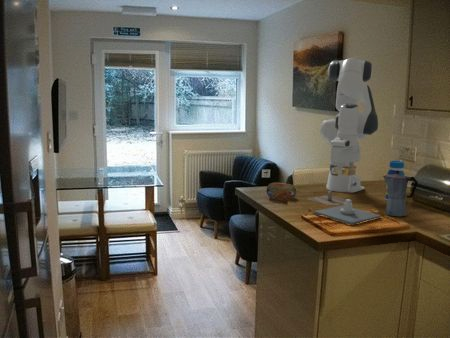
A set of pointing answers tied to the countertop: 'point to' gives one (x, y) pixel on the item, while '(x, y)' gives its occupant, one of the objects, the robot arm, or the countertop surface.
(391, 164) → the beverage bottle
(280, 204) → the countertop surface
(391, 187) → the moka pot
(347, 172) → the tan square frame
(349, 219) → the plate
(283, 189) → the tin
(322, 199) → the stand
